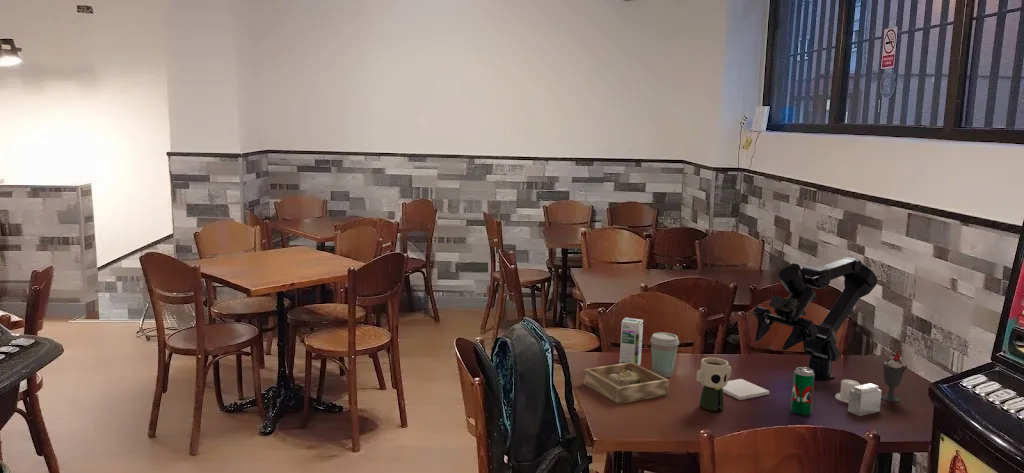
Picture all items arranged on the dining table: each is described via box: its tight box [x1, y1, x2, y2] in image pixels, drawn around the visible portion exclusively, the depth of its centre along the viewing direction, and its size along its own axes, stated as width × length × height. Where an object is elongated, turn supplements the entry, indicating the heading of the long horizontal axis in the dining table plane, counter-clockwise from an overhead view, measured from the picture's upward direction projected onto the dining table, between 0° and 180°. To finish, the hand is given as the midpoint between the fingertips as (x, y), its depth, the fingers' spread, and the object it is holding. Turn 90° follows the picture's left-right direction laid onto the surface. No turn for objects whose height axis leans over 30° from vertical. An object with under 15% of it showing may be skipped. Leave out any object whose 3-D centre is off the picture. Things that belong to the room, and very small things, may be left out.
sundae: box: [880, 349, 908, 404], centre depth 212 cm, size 7×7×15 cm
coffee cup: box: [650, 332, 680, 379], centre depth 227 cm, size 8×8×12 cm
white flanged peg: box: [834, 379, 860, 404], centre depth 212 cm, size 7×7×5 cm
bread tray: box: [583, 362, 670, 405], centre depth 214 cm, size 17×17×4 cm
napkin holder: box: [847, 382, 883, 417], centre depth 203 cm, size 8×4×7 cm, turn 117°
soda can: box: [790, 366, 815, 417], centre depth 200 cm, size 5×5×12 cm
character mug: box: [695, 357, 732, 412], centre depth 201 cm, size 11×7×13 cm, turn 113°
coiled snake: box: [608, 369, 641, 387], centre depth 215 cm, size 10×10×5 cm
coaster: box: [722, 378, 770, 401], centre depth 216 cm, size 11×11×1 cm
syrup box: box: [618, 317, 644, 366], centre depth 235 cm, size 6×6×14 cm
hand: (769, 345), depth 214 cm, fingers open, 9 cm apart
